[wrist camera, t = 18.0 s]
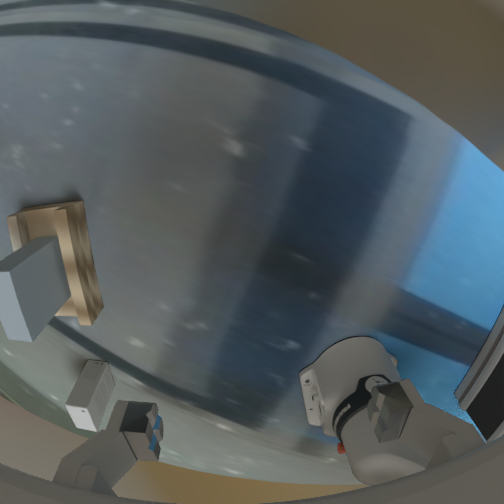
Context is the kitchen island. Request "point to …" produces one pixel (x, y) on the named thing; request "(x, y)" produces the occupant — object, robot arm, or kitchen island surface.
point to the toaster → (486, 385)
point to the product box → (32, 288)
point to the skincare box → (90, 395)
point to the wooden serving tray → (64, 252)
